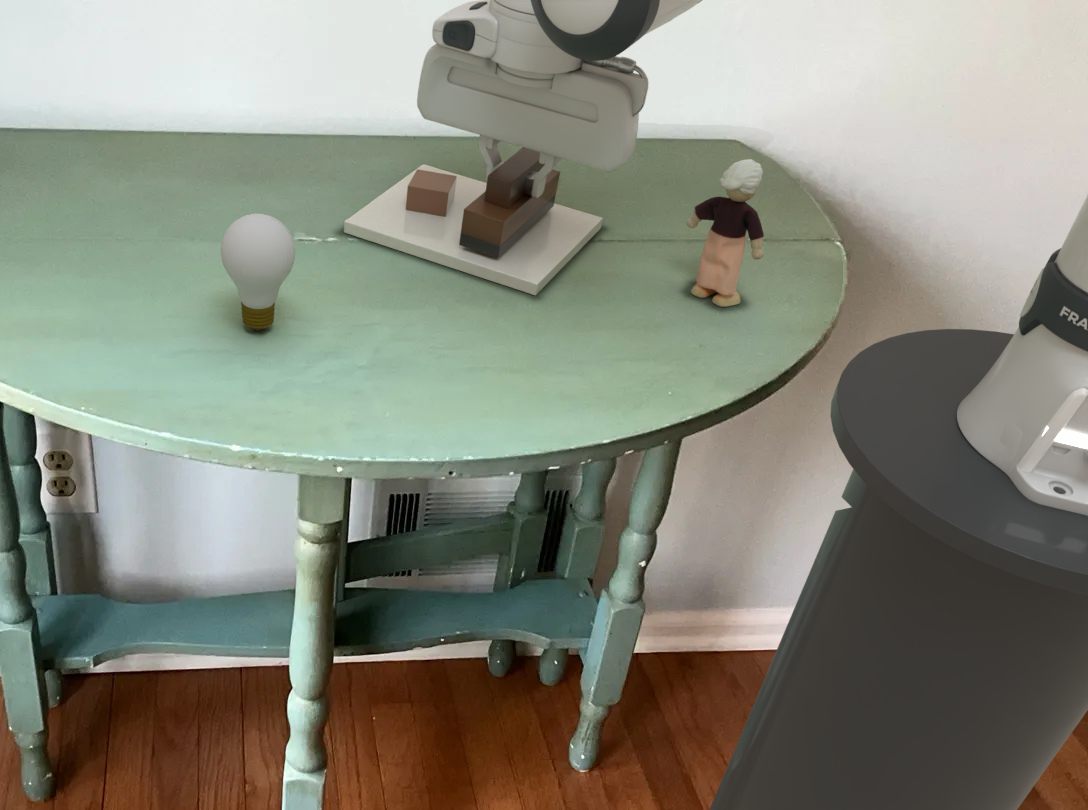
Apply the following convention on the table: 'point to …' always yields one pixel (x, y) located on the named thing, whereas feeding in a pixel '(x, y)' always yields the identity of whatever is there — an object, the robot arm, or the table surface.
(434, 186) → the brown square block
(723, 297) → the grandmother figurine
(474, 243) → the brush
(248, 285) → the light bulb
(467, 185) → the tile
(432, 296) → the table surface
